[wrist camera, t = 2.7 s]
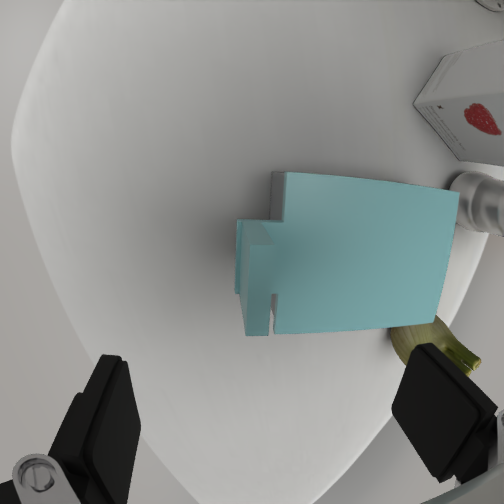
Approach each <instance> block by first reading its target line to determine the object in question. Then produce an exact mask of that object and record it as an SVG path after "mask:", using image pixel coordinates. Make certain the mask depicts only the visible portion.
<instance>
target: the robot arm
mask: <svg viewBox="0 0 504 504" xmlns="http://www.w3.org/2000/svg"><path fill="white" fill-rule="evenodd" d="M476 1H478V2H479V3H480V4H482V5H483V6H484V7H486V8H488V9H490V10H492V11H497V12H499V11H503V10H504V0H476ZM497 408H498V407H497V406H496V404H494V403H493V402H492V401H491V399H490V398H489V397H488V396H486V394H485V393H484V392H483V391H482V390H481V389H480V388H479V387H478V386H477V385H476V384H475V383H474V382H473V381H472V380H471V379H470V378H469V377H468V376H467V375H466V374H465V373H464V372H462V371H461V370H460V369H459V368H458V367H457V366H456V365H455V364H454V363H453V362H452V361H451V360H450V359H449V358H448V357H447V356H446V355H445V354H444V353H443V352H442V351H441V350H440V349H438V348H437V347H436V346H435V345H434V344H433V343H424V344H418V345H416V346H415V348H414V349H413V350H412V351H411V353H410V356H409V359H408V363H407V366H406V368H405V371H404V374H403V377H402V380H401V383H400V385H399V388H398V391H397V394H396V396H395V399H394V401H393V404H392V414H393V416H394V417H395V419H396V420H397V422H398V423H399V425H400V426H401V428H402V430H403V431H404V433H405V434H406V436H407V437H408V439H409V440H410V442H411V444H412V445H413V447H414V448H415V450H416V451H417V453H418V455H419V456H420V458H421V459H422V461H423V462H424V464H425V466H426V467H427V469H428V470H429V472H430V473H431V475H432V476H433V477H436V478H437V480H438V481H439V483H441V482H444V481H446V480H448V479H450V478H452V476H453V475H455V476H456V481H455V487H454V489H452V490H450V491H448V492H446V493H444V494H442V495H440V496H437V497H435V498H433V499H430V500H428V501H426V502H423V503H421V504H504V410H502V411H501V412H499V414H498V416H497V417H496V416H495V415H494V413H495V412H496V410H497ZM140 431H141V422H140V418H139V414H138V410H137V405H136V401H135V397H134V392H133V387H132V383H131V378H130V373H129V368H128V363H127V361H122V358H121V357H120V356H115V355H104V354H103V355H102V356H101V357H100V359H99V361H98V363H97V365H96V367H95V369H94V371H93V373H92V375H91V377H90V379H89V381H88V383H87V385H86V387H85V389H84V392H83V393H80V392H79V393H77V394H76V396H75V397H74V399H73V401H72V403H71V405H70V407H69V409H68V412H67V413H66V415H65V418H64V420H63V422H62V424H61V426H60V428H59V431H58V433H57V435H56V437H55V439H54V442H53V444H52V446H51V449H50V451H49V453H48V456H46V455H44V454H31V455H27V456H25V457H23V458H21V459H20V460H19V461H18V462H17V463H16V465H15V466H14V468H13V473H12V477H13V479H12V480H9V481H7V482H4V483H1V484H0V504H127V500H128V494H129V488H130V483H131V477H132V472H133V466H134V461H135V456H136V451H137V445H138V441H139V436H140Z"/></svg>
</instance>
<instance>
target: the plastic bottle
mask: <svg viewBox="0 0 504 504" xmlns="http://www.w3.org/2000/svg"><path fill="white" fill-rule="evenodd" d="M449 190H450V191H456V192H460V193H459V201H458V209H457V216H456V223H458V224H459V225H461V226H462V227H464V228H465V229H467V230H470V231H476V232H487V233H491V234H495V235H498V236H502V237H504V181H501V180H498V179H495V178H493V177H491V176H489V175H487V174H484V173H481V172H476V171H474V172H465V173H462V174H460V175H459V176H458V177H457V178H456V179H455V180H454V181H453V182H452V184H451V186H450V188H449Z"/></svg>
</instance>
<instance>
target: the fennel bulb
mask: <svg viewBox="0 0 504 504" xmlns="http://www.w3.org/2000/svg"><path fill="white" fill-rule="evenodd" d="M390 335H391V340H392V345H393V347H394V349H395V351H396V353H397V355H398V356H399V358H400V359H401V360H402V362H403V363H404V364H405V365H406V366H407V363H408V359H409V356H410V353H411V351H412V350H413V349H414V348H415V346H416V345H418V344H424V343H433V344H434V345H435V346H436V347H437V348H438V349H440V350H441V351H442V352H443V353H444V354H445V355H446V356H447V357H448V358H449V359H450V360H451V361H452V362H453V363H454V364H455V365H456V366H457V367H458V368H459V369H460V370H461V371H462V372H464V373H465V374H466V375H467V376H469V375H470V373H471V369H472V370H473V371H474V370H476V369H477V368H478V367H479V365H480V363H481V359H480V358H479V357H478V356H476V355H475V354H473V353H472V352H471V351H469V350H468V349H467V348H466V347H465V346H464V345H462V344H461V343H460V342H459V341H458V340H457V339H456V338H455V336H454V335H453V334H452V332H451V331H450V330H449V328H448V327H447V326H446V324H445V323H444V322H443V321H442V320H441V319H440V318H439V317H438V316H437V315H435V318H434V321H433V323H426V324H417V325H408V326H399V327H392V328H391V333H390ZM462 362H463V363H462ZM465 364H466V365H467V366H468V367H469V368H468V367H467V366H466V365H465ZM470 368H471V369H470Z"/></svg>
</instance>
